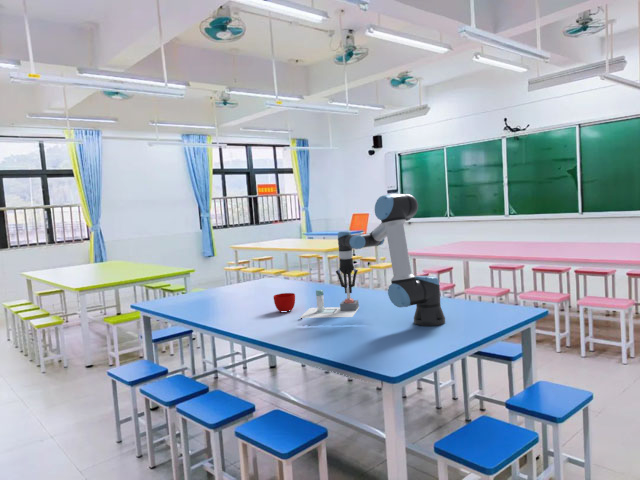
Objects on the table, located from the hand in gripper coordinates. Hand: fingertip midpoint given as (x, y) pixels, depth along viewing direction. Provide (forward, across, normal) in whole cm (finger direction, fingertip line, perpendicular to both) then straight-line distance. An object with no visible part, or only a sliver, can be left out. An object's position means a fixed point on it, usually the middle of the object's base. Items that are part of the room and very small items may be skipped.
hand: (348, 298), depth 266 cm
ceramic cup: (+7, +40, -4) cm, 41 cm away
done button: (+5, 0, 0) cm, 5 cm away
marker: (+6, +16, +5) cm, 18 cm away
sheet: (+7, +10, +7) cm, 14 cm away
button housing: (+6, 0, 0) cm, 6 cm away
